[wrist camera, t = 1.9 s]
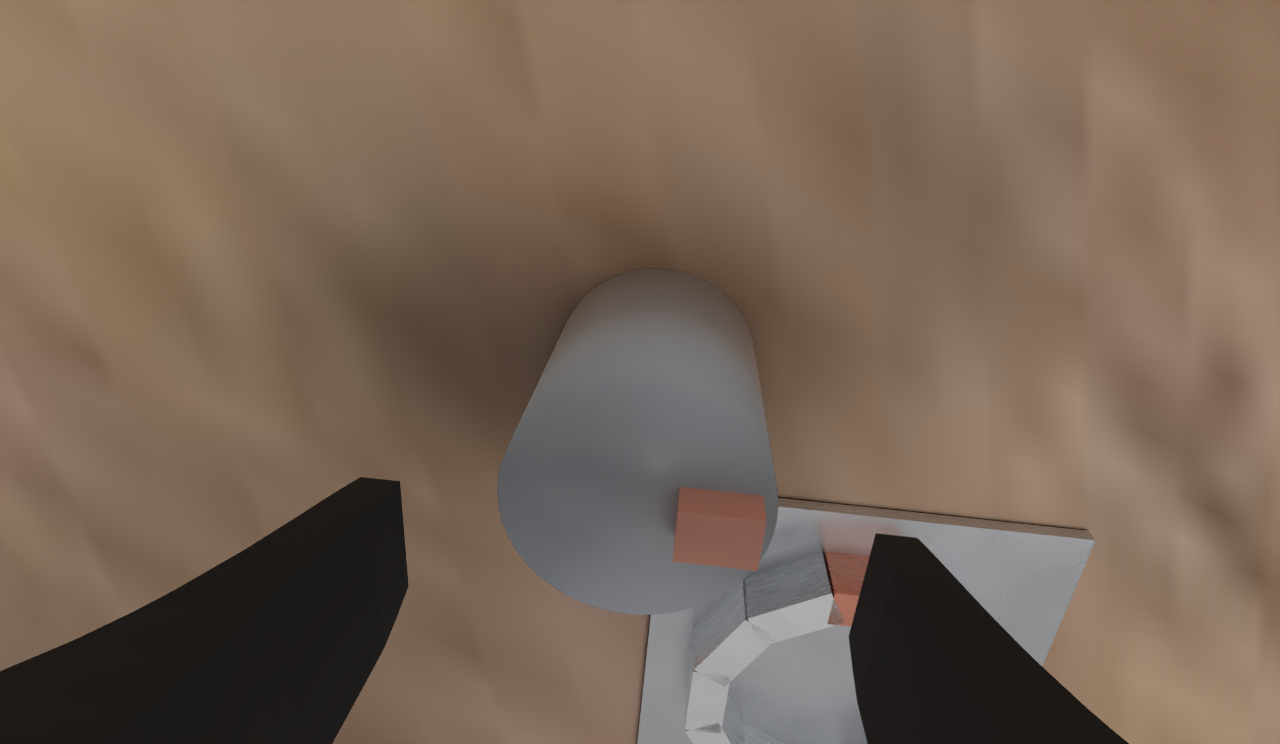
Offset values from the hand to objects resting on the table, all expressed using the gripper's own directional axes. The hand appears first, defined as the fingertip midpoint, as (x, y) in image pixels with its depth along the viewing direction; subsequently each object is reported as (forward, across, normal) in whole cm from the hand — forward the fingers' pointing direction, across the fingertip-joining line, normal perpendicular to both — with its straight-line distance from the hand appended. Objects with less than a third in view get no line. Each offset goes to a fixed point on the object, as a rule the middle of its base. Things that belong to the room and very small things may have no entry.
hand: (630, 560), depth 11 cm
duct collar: (+7, -6, +9) cm, 13 cm away
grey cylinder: (+8, 0, 0) cm, 8 cm away
